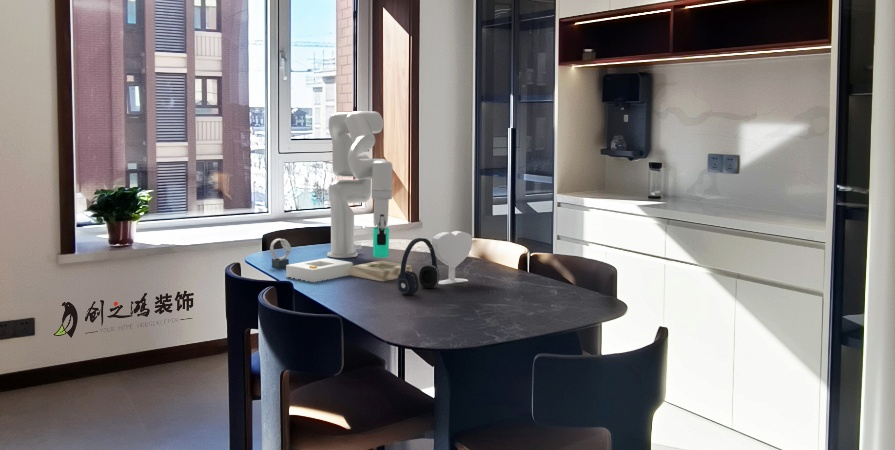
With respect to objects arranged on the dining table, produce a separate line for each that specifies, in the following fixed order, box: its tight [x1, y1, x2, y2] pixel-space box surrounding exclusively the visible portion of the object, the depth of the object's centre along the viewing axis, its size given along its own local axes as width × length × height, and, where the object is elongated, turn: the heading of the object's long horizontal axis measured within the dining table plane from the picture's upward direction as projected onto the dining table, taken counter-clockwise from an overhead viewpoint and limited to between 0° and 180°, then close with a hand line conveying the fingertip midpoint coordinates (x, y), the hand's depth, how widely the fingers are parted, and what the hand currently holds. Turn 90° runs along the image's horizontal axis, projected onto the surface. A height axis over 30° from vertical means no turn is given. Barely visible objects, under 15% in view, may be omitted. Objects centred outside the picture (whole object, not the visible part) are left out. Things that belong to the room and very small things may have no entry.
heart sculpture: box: [431, 230, 473, 285], centre depth 313 cm, size 16×5×18 cm, turn 127°
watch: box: [269, 238, 292, 269], centre depth 336 cm, size 6×8×11 cm
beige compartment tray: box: [350, 260, 413, 282], centre depth 323 cm, size 16×16×4 cm
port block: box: [285, 257, 354, 283], centre depth 320 cm, size 20×14×5 cm
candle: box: [372, 226, 390, 259], centre depth 322 cm, size 6×6×12 cm
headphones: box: [397, 237, 440, 296], centre depth 296 cm, size 20×7×18 cm, turn 149°
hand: (381, 243), depth 322 cm, fingers closed on candle, 4 cm apart
